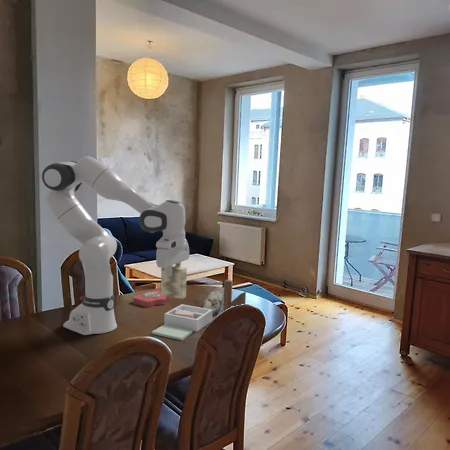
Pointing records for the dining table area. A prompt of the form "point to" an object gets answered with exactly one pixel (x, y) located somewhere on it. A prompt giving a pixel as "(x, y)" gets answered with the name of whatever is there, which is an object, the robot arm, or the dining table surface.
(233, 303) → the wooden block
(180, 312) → the upper offcut
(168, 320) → the white open box
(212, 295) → the elongated rock
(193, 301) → the dining table surface
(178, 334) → the sage pad
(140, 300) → the plaque
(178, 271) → the birch board
